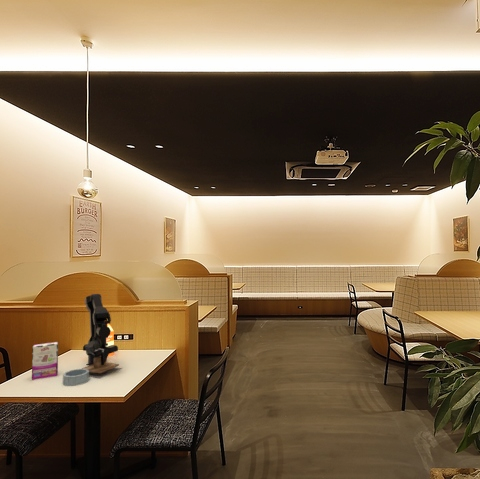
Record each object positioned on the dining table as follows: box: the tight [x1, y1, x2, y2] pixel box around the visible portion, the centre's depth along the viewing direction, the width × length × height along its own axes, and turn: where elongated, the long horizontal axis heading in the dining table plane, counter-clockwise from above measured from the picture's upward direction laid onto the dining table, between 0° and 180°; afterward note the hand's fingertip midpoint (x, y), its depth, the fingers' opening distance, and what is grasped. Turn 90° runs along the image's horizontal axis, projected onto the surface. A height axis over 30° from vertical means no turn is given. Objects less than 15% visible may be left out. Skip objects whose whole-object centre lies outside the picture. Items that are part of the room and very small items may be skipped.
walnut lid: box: [81, 355, 120, 373], centre depth 169 cm, size 13×13×6 cm
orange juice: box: [106, 323, 115, 357], centre depth 201 cm, size 8×9×20 cm
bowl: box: [62, 368, 90, 387], centre depth 155 cm, size 11×11×4 cm
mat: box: [89, 366, 123, 379], centre depth 169 cm, size 16×16×1 cm
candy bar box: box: [31, 341, 59, 381], centre depth 164 cm, size 11×5×16 cm, turn 118°
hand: (100, 364), depth 169 cm, fingers closed on walnut lid, 3 cm apart
